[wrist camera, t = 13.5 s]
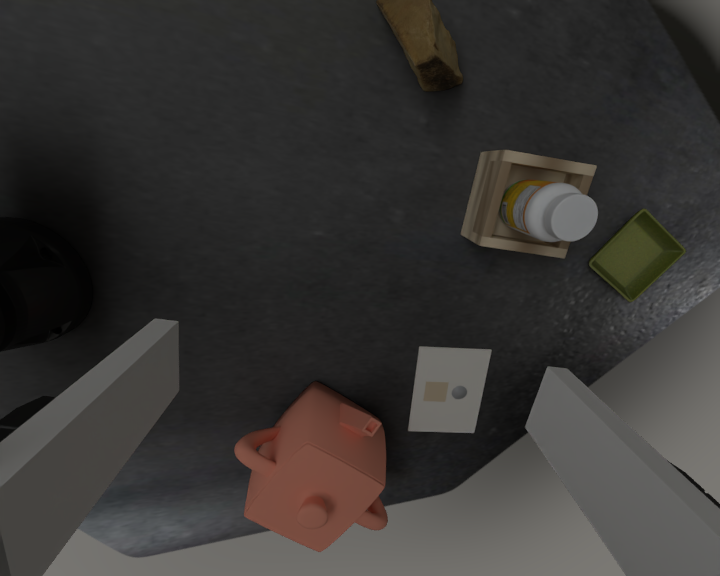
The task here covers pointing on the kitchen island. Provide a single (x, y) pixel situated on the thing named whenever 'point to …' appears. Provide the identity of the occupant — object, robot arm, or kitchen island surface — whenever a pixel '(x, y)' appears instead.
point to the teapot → (316, 469)
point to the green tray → (637, 255)
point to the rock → (424, 42)
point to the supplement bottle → (548, 210)
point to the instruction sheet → (448, 389)
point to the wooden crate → (496, 178)
